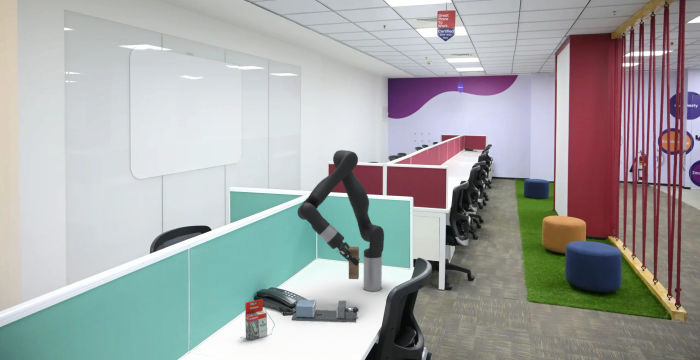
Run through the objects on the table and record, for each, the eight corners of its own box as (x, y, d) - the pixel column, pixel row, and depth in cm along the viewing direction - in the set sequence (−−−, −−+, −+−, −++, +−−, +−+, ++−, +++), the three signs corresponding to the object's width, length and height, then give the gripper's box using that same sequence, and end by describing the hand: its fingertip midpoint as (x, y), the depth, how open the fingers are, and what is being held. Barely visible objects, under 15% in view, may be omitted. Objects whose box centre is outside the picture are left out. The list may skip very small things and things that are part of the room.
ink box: (267, 336, 202) (266, 301, 200) (249, 340, 197) (248, 305, 195) (263, 332, 205) (263, 298, 203) (245, 337, 200) (244, 302, 198)
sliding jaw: (299, 309, 226) (299, 299, 225) (316, 310, 225) (316, 300, 225) (296, 316, 218) (296, 306, 217) (313, 317, 217) (313, 306, 217)
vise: (295, 311, 227) (295, 298, 226) (359, 313, 225) (359, 300, 224) (291, 320, 217) (291, 307, 216) (357, 322, 215) (357, 308, 214)
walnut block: (349, 275, 233) (349, 246, 231) (358, 276, 232) (358, 246, 230) (348, 279, 228) (348, 249, 226) (358, 279, 228) (358, 249, 226)
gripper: (335, 234, 221) (363, 261, 222) (338, 227, 235) (364, 252, 236) (324, 246, 222) (351, 273, 223) (327, 238, 236) (353, 263, 237)
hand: (358, 262), depth 229 cm, fingers closed on walnut block, 4 cm apart
